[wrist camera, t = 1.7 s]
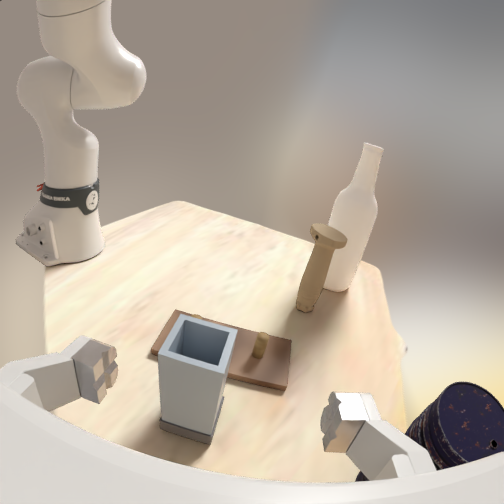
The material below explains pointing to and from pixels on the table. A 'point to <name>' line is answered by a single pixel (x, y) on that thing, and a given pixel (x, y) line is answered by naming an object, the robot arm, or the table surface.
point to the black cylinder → (459, 427)
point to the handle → (318, 264)
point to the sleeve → (194, 376)
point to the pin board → (248, 354)
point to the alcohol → (354, 219)
